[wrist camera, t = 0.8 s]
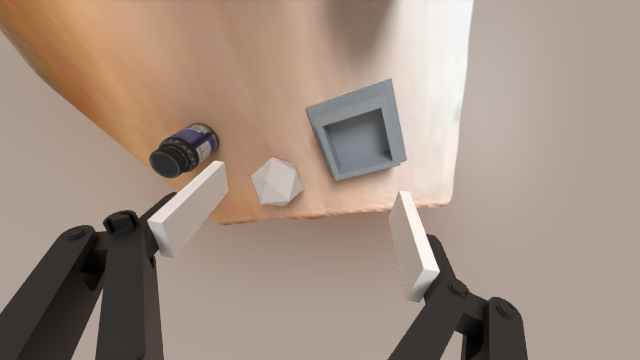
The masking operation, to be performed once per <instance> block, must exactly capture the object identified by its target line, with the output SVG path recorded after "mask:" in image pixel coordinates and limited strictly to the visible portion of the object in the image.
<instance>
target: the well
mask: <svg viewBox="0 0 640 360" xmlns="http://www.w3.org/2000/svg"><path fill="white" fill-rule="evenodd" d="M306 111H307V114H308V116H309V119H310V121H311V124H312V127H313V129H314V132H315V134H316V137H317V140H318V142H319V145H320V147H321V150H322V153H323V155H324V158H325V160H326V163H327V166H328V168H329V171H330V173H331V176H332V178H334V177H335V180H336V181H337V180H342V179H346V178H350V177H354V176H358V175H362V174H366V173H370V172H375V171H379V170H383V169H387V168H391V167H395V166H399V165H400V161H403V160H407V159H406V154H405V148H404V143H403V138H402V132H401V127H400V122H399V116H398V111H397V106H396V100H395V95H394V90H393V84H392V79H388V80H386V81H383V82H380V83H377V84H374V85H371V86H368V87H365V88H363V89H360V90H357V91H354V92H351V93H348V94H345V95H343V96H340V97H337V98H334V99H331V100H328V101H325V102H322V103H320V104H317V105H314V106H311V107H308V108H306Z"/></svg>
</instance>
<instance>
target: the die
mask: <svg viewBox="0 0 640 360" xmlns="http://www.w3.org/2000/svg"><path fill="white" fill-rule="evenodd" d="M251 178H252V181H253V183H254V186H255V189H256V192H257V194H258V197H259V200H260V203H261V204H268V205H276V206H286V205H287V204H288V203H289V202H290V201H291V200H292V199H293V198H294V197H295V196H297V195H298V194H299V193H300V192H301V191H302V190H303V189H304V187H303V184H302V182H301V179H300V177H299V174H298V172H297V169H296V167H295V164H293V163H290V162H287V161H284V160H280V159H277V158H274V157H271V158H270V159H269V160H268V161H267V162H266V163H265V164H264V165H263V166H262V167H261V168H260V169H258V170H257V171H256V172H255V173H254V174H253V175H252V176H251Z"/></svg>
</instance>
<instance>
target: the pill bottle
mask: <svg viewBox="0 0 640 360" xmlns="http://www.w3.org/2000/svg"><path fill="white" fill-rule="evenodd" d="M217 147H218V138H217V136H216V134H215V133H214V131H213V130H212V129H211V128H209V127H208V126H206V125H204V124H200V123H197V124H192V125H190V126H188V127H187V128H185V129H183V130H181V131H180V132H178V133H176V134H174V135H172V136H171V137H169V138H167V139H165V140H164V141H162V142H161V144H160V145H159V149H158V150H156V151H155V152H153V153H152V154H151V155H150V158H149V160H150V164H151V166H152V168H153V169H154V170H155V171H156V172H157V173H158V174H160V175H161V176H163V177H166V178H175V177H177V176H179V175H180V174H181V173H185V172H190V171H192V170H193V169H194V168H196V167H197V166H198V165H199V164H200V163H201V162H203V161H204V160H205V159H206V158H207V157H208V156H210V155H211V154H212V153H213V152H214V151H215V150H216V149H217Z"/></svg>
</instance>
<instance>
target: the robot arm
mask: <svg viewBox="0 0 640 360" xmlns="http://www.w3.org/2000/svg"><path fill="white" fill-rule="evenodd" d="M227 193H228V186H227V178H226V170H225V163H224V162H221V161H215V160H214V161H213V162H212V163H211V164H210V165H209V166H208V167H207V168H206V169H204V170H203V171H202V172H201V173H200V174H199V175H198V176H197V177H195V178H194V179H193V180H192V181H191V182H190V183H189V184H188V185H186V186H185V187H184V188H183V189H182V190H181V191H180V192H179V193H177V192H173V193H171V194H169V195H167V196H165V197H164V198H162V199H161V200H160V201H159V203H157V204H155V205H154V207H152V208H151V209H149V210H148V211H147V212H146V213H145V214H144V215H142V216H141V217H140V218H139V219H138V217H137V215H136V213H135V212H134V211H129V210H125V211H119V212H116V213H114V214H112V215H110V216H108V217H107V218H106V219H105V220H104V221H103V225H104V226H105V228H106V230H107V231H104V232H96V231H95V230H94V228H93V227H92V226H89V225H81V226H77V227H74V228H72V229H69V230H67V231H65V232H64V233H62V234H61V235H60V236H59V237H58V238H57V240H56V241H55V242H54V244H53V245H52V246H51V247H50V249H49V250H48V251H47V253H46V254H45V255H44V257H43V258H42V260H41V261H40V262H39V263H38V265H37V266H36V267H35V269H34V270H33V271H32V273H31V274H30V275H29V277H28V278H27V279H26V281H25V282H24V283H23V285H22V286H21V287H20V289H19V290H18V291H17V293H16V294H15V295H14V296H13V298H12V299H11V300H10V302H9V303H8V304H7V306H6V307H5V308H4V310H3V311H2V312H1V314H0V360H71V358H72V356H73V354H74V351H75V349H76V347H77V345H78V342H79V340H80V338H81V336H82V333H83V331H84V329H85V327H86V325H87V322H88V320H89V318H90V315H91V313H92V311H93V309H94V307H95V304H96V302H97V300H98V298H99V295H100V293H101V291H102V289H103V295H102V304H101V313H100V322H99V331H98V339H97V348H96V357H95V360H164V356H163V344H162V332H161V320H160V309H159V308H160V307H159V296H158V283H157V273H156V260H155V256H154V254H155V253H156V252H157V251H158V250H159V251H160V253H161V256H164V257H169V258H175V257H176V256H177V255H178V253H179V252H180V251H181V250H182V249H183V247H184V246H185V245H186V244H187V242H188V241H189V239H191V237H192V236H193V235H194V233H195V232H196V231H197V230H198V229H199V227H200V226H201V225H202V224H203V222H204V221H205V220H206V219H207V218H208V216H209V215H210V214H211V213H212V211H213V210H214V209H215V208H216V206H217V205H218V204H219V203H220V201H221V200H222V199H223V198H224V196H225V195H226V194H227ZM389 223H390V227H391V232H392V237H393V242H394V247H395V252H396V256H397V261H398V266H399V271H400V276H401V281H402V286H403V291H404V295H405V300H408V301H414V302H420V301H421V299H422V298H423V296H424V300H425V303H426V304H425V306H424V307H423V309H422V310H421V312H420V313H419V315H418V316H417V318H416V319H415V320H414V322H413V324H412V325H411V326H410V328H409V329H408V331H407V332H406V334H405V335H404V336H403V338H402V339H401V341H400V342H399V344H398V345H397V347H396V348H395V350H394V351H393V353H392V354H391V356H390V357H389V359H388V360H440V358H441V356H442V354H443V352H444V350H445V348H446V346H447V344H448V342H449V340H450V338H451V336H452V334H453V332H454V330H455V331H457V332H459V333H461V334H463V341H462V352H461V360H528V357H527V350H526V342H525V335H524V329H523V328H524V327H523V320H522V317H521V315H520V313H519V312H518V310H517V309H516V308H515V307H514V306H513V305H512V304H511V303H509V302H508V301H506V300H504V299H502V298H499V297H493V298H491V299H490V300H489V301H487V300H485V299H482V298H480V297H478V296H476V295H474V294H472V293H470V291H469V290H468V288H467V287H466V285H464V284H463V283H462V282H461V281H459V280H458V279H456V277H455V274H454V272H453V270H452V267H451V265H450V263H449V260H448V258H447V257H446V254H445V251H444V249H443V247H442V244H441V242H440V241H439V240H438V239H437V238H436V237H435V236H434V235H429V234H425V231H424V228H423V226H422V223H421V221H420V218H419V215H418V213H417V210H416V207H415V205H414V202H413V199H412V197H411V194H410V192H406V191H400V190H399V192H398V195H397V198H396V200H395V203H394V206H393V208H392V211H391V214H390V216H389Z"/></svg>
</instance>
